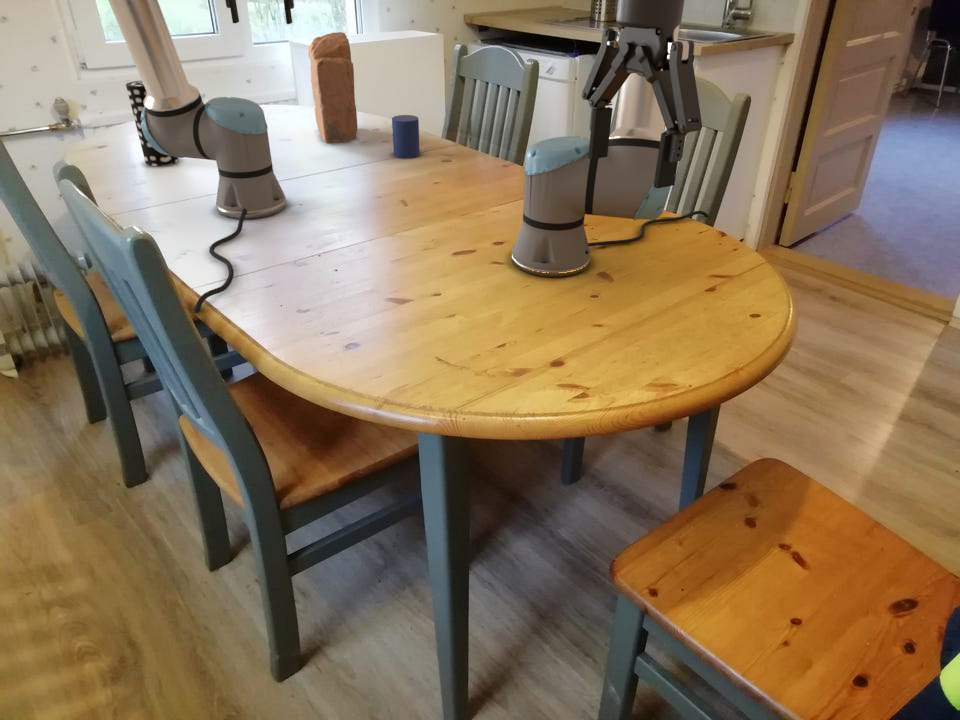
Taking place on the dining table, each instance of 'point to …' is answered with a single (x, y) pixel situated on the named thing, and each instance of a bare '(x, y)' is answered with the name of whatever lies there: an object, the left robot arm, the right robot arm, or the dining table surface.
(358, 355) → the dining table surface
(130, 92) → the black white spotted cylinder
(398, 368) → the dining table surface
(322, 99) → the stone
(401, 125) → the can
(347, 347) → the dining table surface
